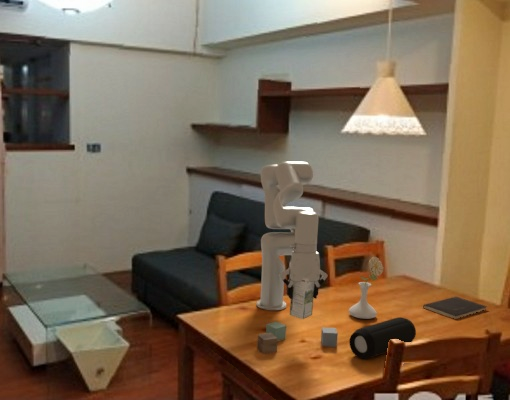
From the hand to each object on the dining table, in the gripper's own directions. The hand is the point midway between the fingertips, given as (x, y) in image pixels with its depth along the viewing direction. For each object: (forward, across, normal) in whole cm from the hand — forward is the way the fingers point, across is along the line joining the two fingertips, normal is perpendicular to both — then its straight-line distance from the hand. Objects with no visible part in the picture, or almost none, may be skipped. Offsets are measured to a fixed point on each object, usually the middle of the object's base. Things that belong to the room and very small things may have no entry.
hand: (302, 297), depth 182 cm
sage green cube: (+18, -7, +7) cm, 21 cm away
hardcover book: (+19, +78, +34) cm, 87 cm away
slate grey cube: (+18, +11, +1) cm, 21 cm away
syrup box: (+7, 0, 0) cm, 7 cm away
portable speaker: (+18, +28, -6) cm, 34 cm away
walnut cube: (+18, -12, -3) cm, 22 cm away
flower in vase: (+18, +34, +27) cm, 47 cm away
